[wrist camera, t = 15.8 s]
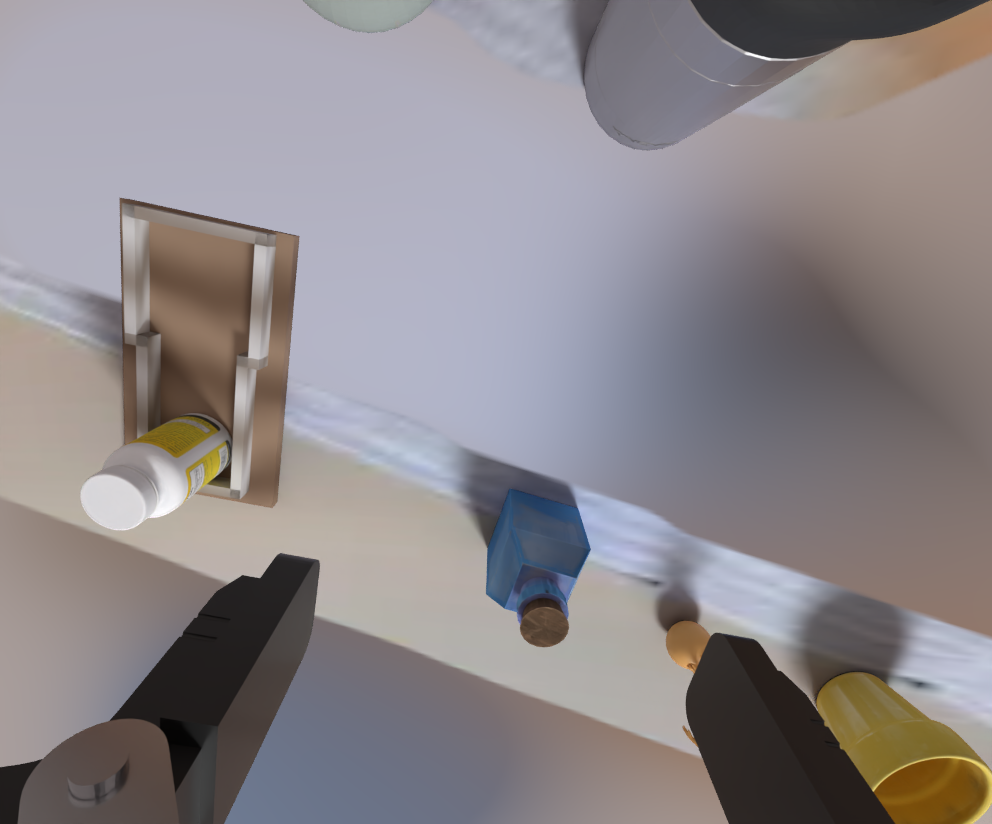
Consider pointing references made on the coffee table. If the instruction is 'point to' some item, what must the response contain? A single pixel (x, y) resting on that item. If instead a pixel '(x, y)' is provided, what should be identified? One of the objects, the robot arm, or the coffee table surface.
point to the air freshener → (369, 13)
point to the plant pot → (905, 753)
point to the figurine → (687, 648)
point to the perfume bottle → (536, 564)
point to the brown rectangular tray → (209, 335)
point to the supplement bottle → (157, 471)
